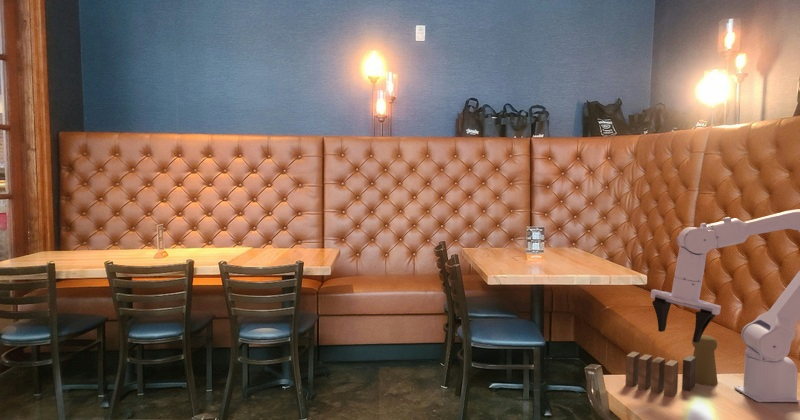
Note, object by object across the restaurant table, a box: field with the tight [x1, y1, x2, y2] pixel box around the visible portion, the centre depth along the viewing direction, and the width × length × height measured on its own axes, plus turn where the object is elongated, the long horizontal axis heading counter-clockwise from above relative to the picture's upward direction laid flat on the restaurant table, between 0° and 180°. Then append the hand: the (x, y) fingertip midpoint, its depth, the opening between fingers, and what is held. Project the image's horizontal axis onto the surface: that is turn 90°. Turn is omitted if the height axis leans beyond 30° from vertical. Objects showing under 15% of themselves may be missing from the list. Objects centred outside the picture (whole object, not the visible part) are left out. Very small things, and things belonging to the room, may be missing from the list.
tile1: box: [681, 354, 696, 392], centre depth 121 cm, size 2×4×7 cm, turn 136°
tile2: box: [663, 359, 679, 398], centre depth 117 cm, size 2×4×7 cm, turn 136°
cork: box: [691, 334, 719, 386], centre depth 125 cm, size 6×6×11 cm
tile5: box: [625, 351, 641, 387], centre depth 123 cm, size 2×4×7 cm, turn 136°
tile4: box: [637, 353, 653, 391], centre depth 121 cm, size 2×4×7 cm, turn 136°
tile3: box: [650, 356, 666, 394], centre depth 119 cm, size 2×4×7 cm, turn 136°
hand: (678, 336), depth 120 cm, fingers open, 7 cm apart
